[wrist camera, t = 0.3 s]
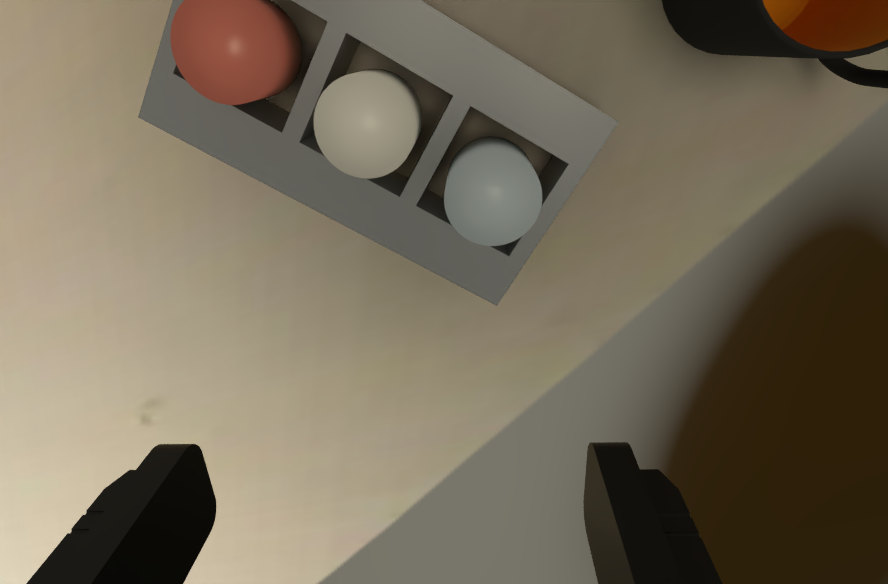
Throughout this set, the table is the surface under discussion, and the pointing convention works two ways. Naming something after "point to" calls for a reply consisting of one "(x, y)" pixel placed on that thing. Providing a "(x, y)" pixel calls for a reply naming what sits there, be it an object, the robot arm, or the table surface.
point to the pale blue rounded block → (492, 192)
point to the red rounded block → (235, 49)
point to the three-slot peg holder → (406, 199)
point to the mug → (788, 30)
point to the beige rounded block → (367, 122)
